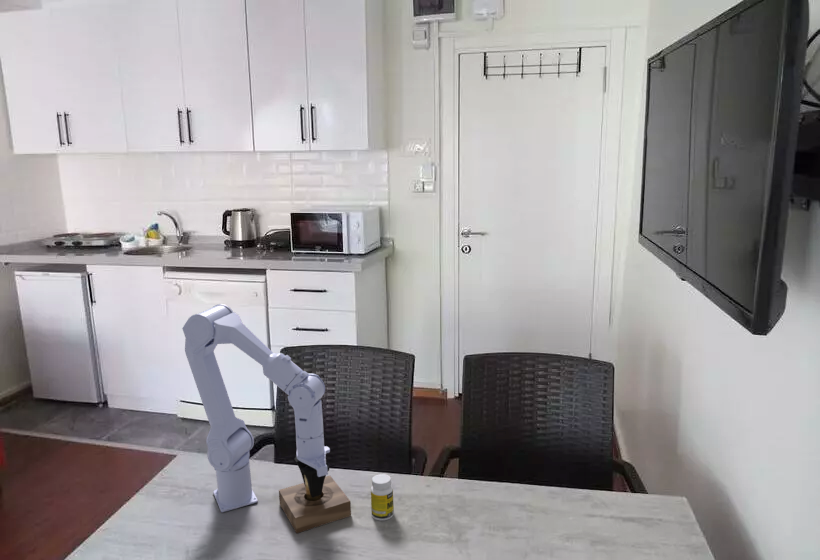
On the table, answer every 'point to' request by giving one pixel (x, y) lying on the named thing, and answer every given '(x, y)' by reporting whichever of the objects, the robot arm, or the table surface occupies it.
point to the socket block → (314, 505)
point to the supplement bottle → (382, 497)
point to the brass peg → (309, 492)
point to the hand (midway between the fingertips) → (313, 491)
